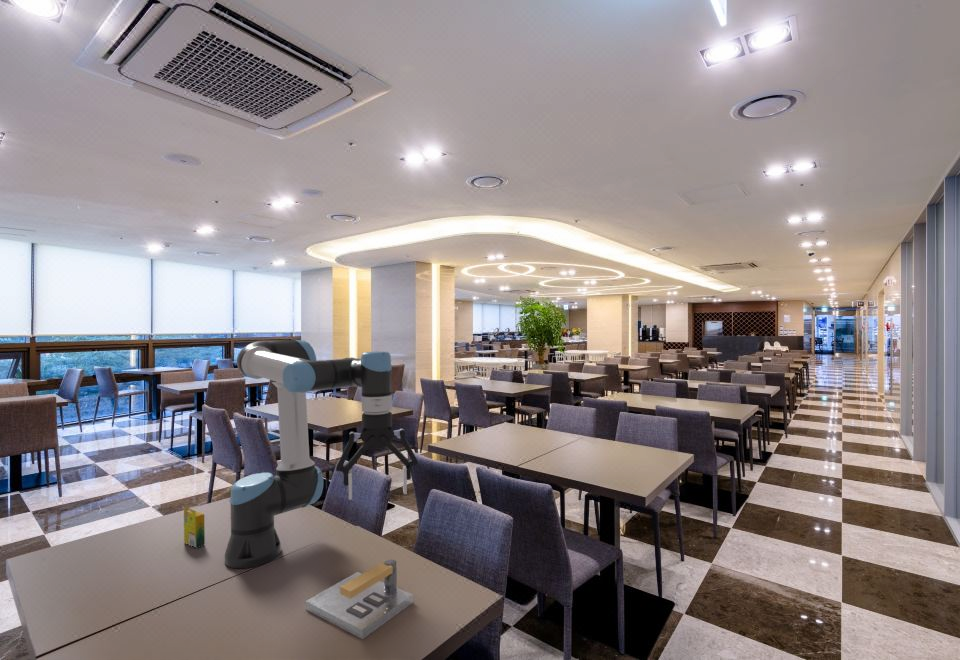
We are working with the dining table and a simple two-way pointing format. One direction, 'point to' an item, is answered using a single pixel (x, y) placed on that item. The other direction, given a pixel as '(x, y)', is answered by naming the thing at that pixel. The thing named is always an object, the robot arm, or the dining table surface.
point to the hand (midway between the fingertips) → (378, 495)
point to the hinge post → (391, 582)
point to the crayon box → (194, 528)
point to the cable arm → (368, 579)
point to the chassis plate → (335, 604)
